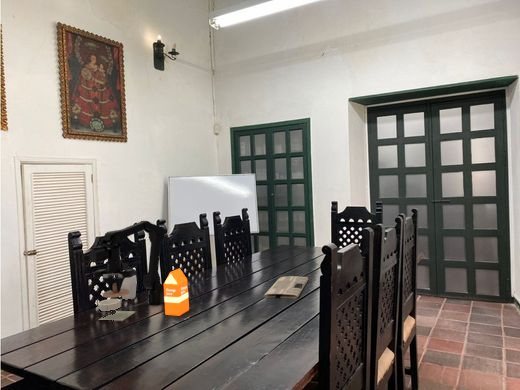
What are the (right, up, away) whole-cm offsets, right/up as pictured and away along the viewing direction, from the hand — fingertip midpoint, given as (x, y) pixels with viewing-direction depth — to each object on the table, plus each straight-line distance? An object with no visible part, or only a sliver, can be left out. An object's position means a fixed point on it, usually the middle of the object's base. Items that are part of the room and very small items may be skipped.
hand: (116, 291), depth 183 cm
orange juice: (+28, -10, +2) cm, 30 cm away
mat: (0, -12, 0) cm, 12 cm away
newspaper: (+82, -7, +34) cm, 89 cm away
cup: (-4, -11, +30) cm, 32 cm away
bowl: (-8, -12, +13) cm, 19 cm away
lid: (0, -1, 0) cm, 1 cm away
